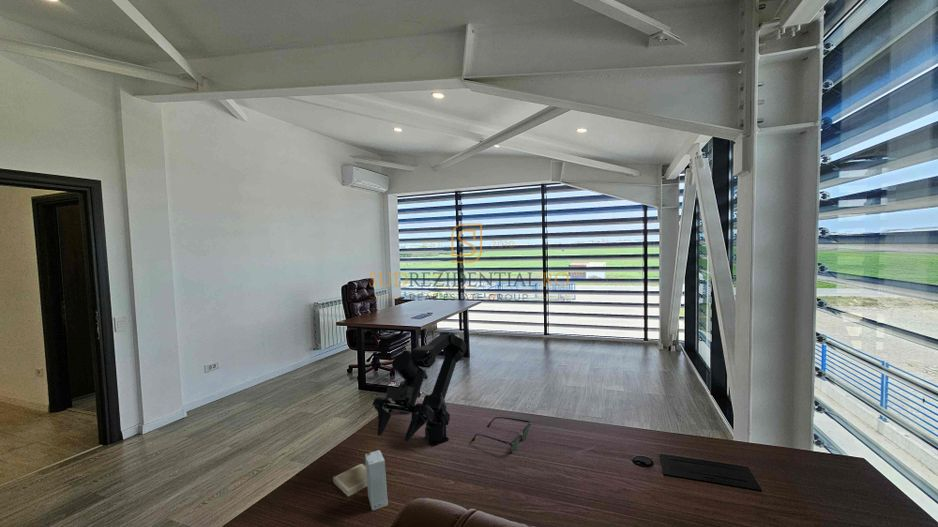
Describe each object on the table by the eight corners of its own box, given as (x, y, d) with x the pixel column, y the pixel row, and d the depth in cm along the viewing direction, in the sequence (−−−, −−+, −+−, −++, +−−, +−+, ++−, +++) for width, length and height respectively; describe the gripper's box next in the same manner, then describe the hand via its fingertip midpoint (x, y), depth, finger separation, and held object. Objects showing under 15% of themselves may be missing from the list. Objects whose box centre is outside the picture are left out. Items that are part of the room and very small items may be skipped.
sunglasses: (490, 423, 136) (490, 410, 135) (532, 434, 127) (532, 420, 126) (467, 444, 122) (466, 430, 121) (512, 458, 113) (512, 443, 112)
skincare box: (388, 505, 93) (386, 460, 93) (371, 512, 91) (368, 465, 91) (383, 491, 98) (381, 448, 98) (366, 497, 97) (364, 453, 96)
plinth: (361, 468, 110) (361, 463, 110) (377, 480, 103) (377, 475, 103) (333, 482, 103) (333, 477, 103) (348, 496, 97) (347, 491, 97)
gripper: (374, 370, 109) (350, 422, 99) (427, 377, 102) (407, 434, 92) (391, 387, 117) (370, 436, 107) (441, 394, 109) (424, 448, 99)
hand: (391, 438), depth 101 cm, fingers open, 9 cm apart
